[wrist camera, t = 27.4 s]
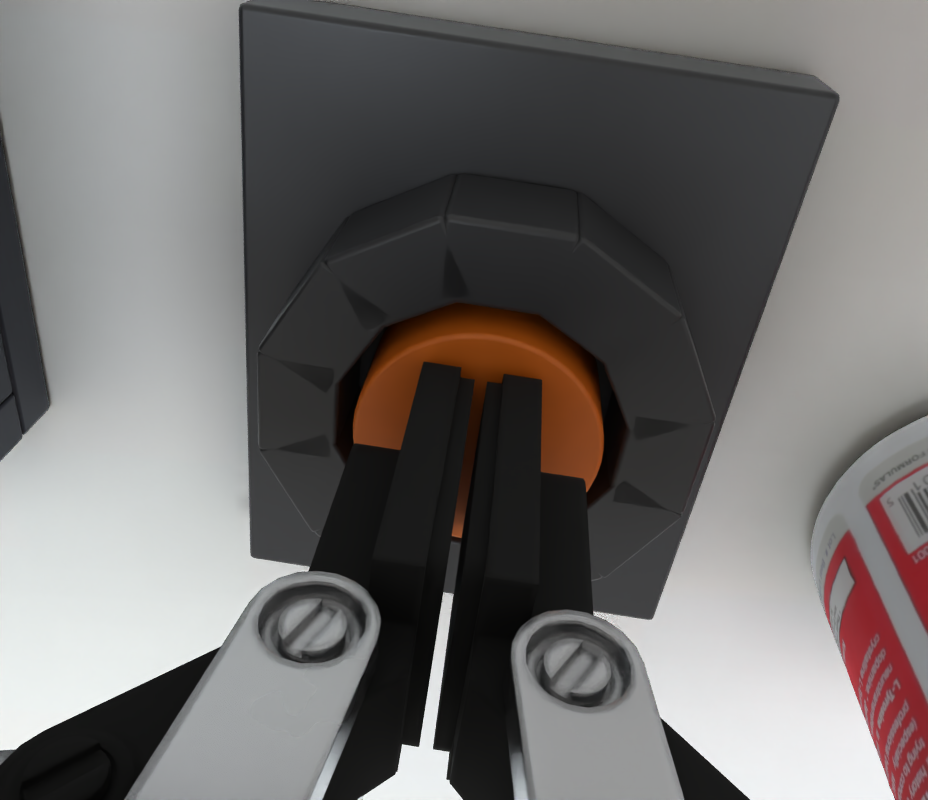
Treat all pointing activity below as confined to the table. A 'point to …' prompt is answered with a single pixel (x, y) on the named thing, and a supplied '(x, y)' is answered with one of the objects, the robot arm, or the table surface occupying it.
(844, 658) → the pill bottle
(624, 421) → the panel
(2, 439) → the black storage bin
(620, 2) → the table surface
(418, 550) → the robot arm
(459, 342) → the button
